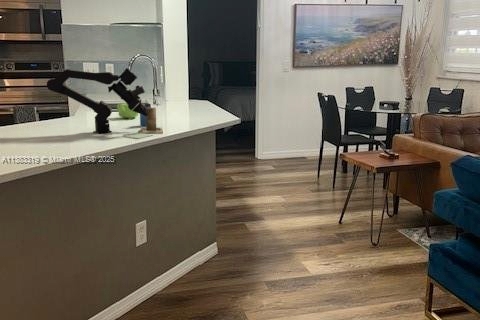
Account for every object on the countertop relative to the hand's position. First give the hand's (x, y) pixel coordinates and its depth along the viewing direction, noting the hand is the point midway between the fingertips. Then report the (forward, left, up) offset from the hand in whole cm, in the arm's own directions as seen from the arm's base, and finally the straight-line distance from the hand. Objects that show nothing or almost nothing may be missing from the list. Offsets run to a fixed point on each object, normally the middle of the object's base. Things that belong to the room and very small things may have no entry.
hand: (147, 114), depth 229 cm
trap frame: (+2, +1, -9) cm, 9 cm away
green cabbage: (-39, +29, -9) cm, 49 cm away
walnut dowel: (+2, +1, -9) cm, 9 cm away
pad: (+4, -12, -9) cm, 16 cm away
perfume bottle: (-12, +15, -9) cm, 21 cm away
